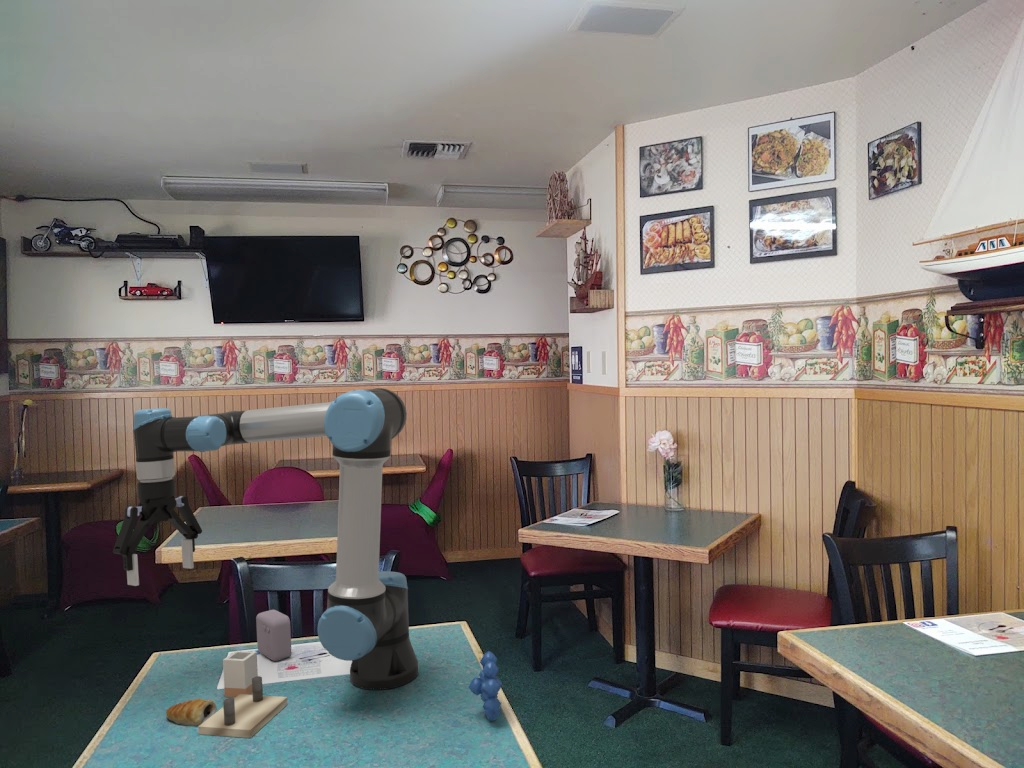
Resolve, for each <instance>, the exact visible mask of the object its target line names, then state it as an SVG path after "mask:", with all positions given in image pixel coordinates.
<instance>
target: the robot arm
mask: <svg viewBox="0 0 1024 768" xmlns="http://www.w3.org/2000/svg"><path fill="white" fill-rule="evenodd" d="M407 414H408V413H407V407H406V405H405V402H404V401H403V399H402V398H401V397H400V396H399V395H398V394H397V393H396V392H394V391H392V390H389V388H388V389H387V388H384V387H383V388H381V387H380V388H379V387H378V388H370V389H369V388H367V389H363V388H362V389H353V390H349V391H347V392H344V393H341V394H340V395H338V396H337V397H336V398H335V399H334V400H333V401H328V402H317V403H316V402H315V403H309V404H308V403H307V404H298V405H288V406H278V407H277V406H276V407H269V408H267V407H266V408H257V409H249V410H232V411H227V412H220V413H219V412H218V413H212V414H203V415H194V416H178V417H176V416H173V415H172V410H171V408H168V407H167V408H162V407H160V408H159V407H157V408H145V409H138V410H136V411H134V414H133V429H132V432H133V437H134V440H133V441H134V448H135V466H136V467H135V469H136V479H137V480H138V481H137V484H136V488H137V499H138V501H139V505H138V506H126V507H125V509H124V519H123V522H122V524H121V527H120V530H119V533H118V535H117V538H116V540H115V544H114V546H113V549H112V553H113V554H116V555H121V556H122V563H123V565H122V568H123V570H124V571H125V572H126V579H127V580H126V581H127V585H128V586H134V587H137V586H139V585H140V578H139V561H138V554H136V553H135V552H136V549H137V548H138V546H139V545H140V543H141V541H142V539H143V538H144V536H145V535H146V533H147V531H148V530H149V528H150V527H152V525H153V524H159V523H161V522H167V521H168V522H170V524H171V525H172V526H173V527H174V528H175V529H176V530H177V531H178V532H179V533H180V534H181V535H182V536H183V537H184V538H181V541H180V543H181V560H182V561H181V563H182V568H183V569H191V570H193V569H194V568H195V567H194V566H195V565H194V552H195V551H196V545H195V544H196V543H195V541H196V540H197V538H199V535H201V534H202V533H203V529H202V528H201V525H200V524H199V522H198V519H197V518H196V516H195V514H194V512H193V510H192V509H191V506H190V505H189V504H190V503H189V498H188V496H185V495H178V496H176V498H175V495H176V493H177V489H176V479H175V478H173V477H175V476H176V469H175V467H176V466H175V457H174V455H175V453H176V452H200V453H205V452H212V451H213V452H214V451H217V450H220V449H221V447H226V446H230V445H239V444H240V445H241V444H249V443H250V444H252V443H261V442H272V441H273V442H274V441H287V440H297V439H308V438H309V439H310V438H319V437H320V438H321V437H322V438H323V437H326V438H327V439H328V440H329V441H330V443H331V445H332V453H331V454H332V457H333V459H334V460H335V461H337V463H338V464H339V480H338V481H339V482H338V509H337V513H338V514H337V535H336V536H337V538H336V539H337V540H336V563H335V564H336V565H335V566H336V567H335V568H336V569H335V580H334V582H332V583H331V584H330V585H329V586H328V588H327V603H326V604H327V606H326V607H327V608H326V609H325V611H324V612H322V614H321V617H319V619H318V624H317V630H316V631H317V636H318V640H319V643H320V644H321V646H322V648H323V649H325V650H326V651H327V652H328V654H329V655H330V656H332V657H333V658H336V659H338V660H342V661H348V662H349V661H350V662H351V664H350V667H349V680H350V683H351V684H352V685H354V686H355V687H357V688H360V689H365V690H387V689H392V688H397V687H401V686H403V685H405V684H408V683H411V681H413V680H415V679H416V678H417V676H418V675H419V661H418V658H417V655H416V652H415V650H414V648H413V644H412V642H411V639H410V630H409V629H410V627H409V625H410V623H409V598H408V597H409V594H408V593H409V592H408V590H409V586H408V583H407V576H405V574H404V573H401V572H398V571H391V570H390V571H389V570H388V571H387V570H386V571H385V570H382V571H380V569H379V568H380V567H379V566H380V547H381V546H380V544H381V521H382V518H381V517H382V515H381V514H382V493H383V492H382V489H383V467H384V466H383V465H384V464H385V463H386V462H387V461H388V460H389V459H390V458H391V455H392V454H391V452H392V451H391V450H392V449H391V448H392V440H393V439H395V438H396V437H397V436H398V435H400V433H401V432H402V431H403V429H404V428H405V425H406V422H407V417H408V416H407ZM176 507H177V509H178V512H179V513H180V515H181V517H182V518H181V517H180V515H179V514H178V513H177V512H176V510H175V508H176ZM138 517H139V518H138Z"/></svg>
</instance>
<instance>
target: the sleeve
mask: <svg viewBox="0 0 1024 768" xmlns="http://www.w3.org/2000/svg"><path fill="white" fill-rule="evenodd" d="M222 666H223V667H222V670H223V671H222V673H223V688H224V689H223V692H224V697H225V698H235V697H236V696H238V695H239V694H246V695H253V694H252V678H254V677H257V676H259V669H258V668H259V667H258V651H252V650H251V651H249V650H235V651H234V652H232V653H231V654H229V655H227V656H226V657H225V658H223V659H222Z"/></svg>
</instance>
